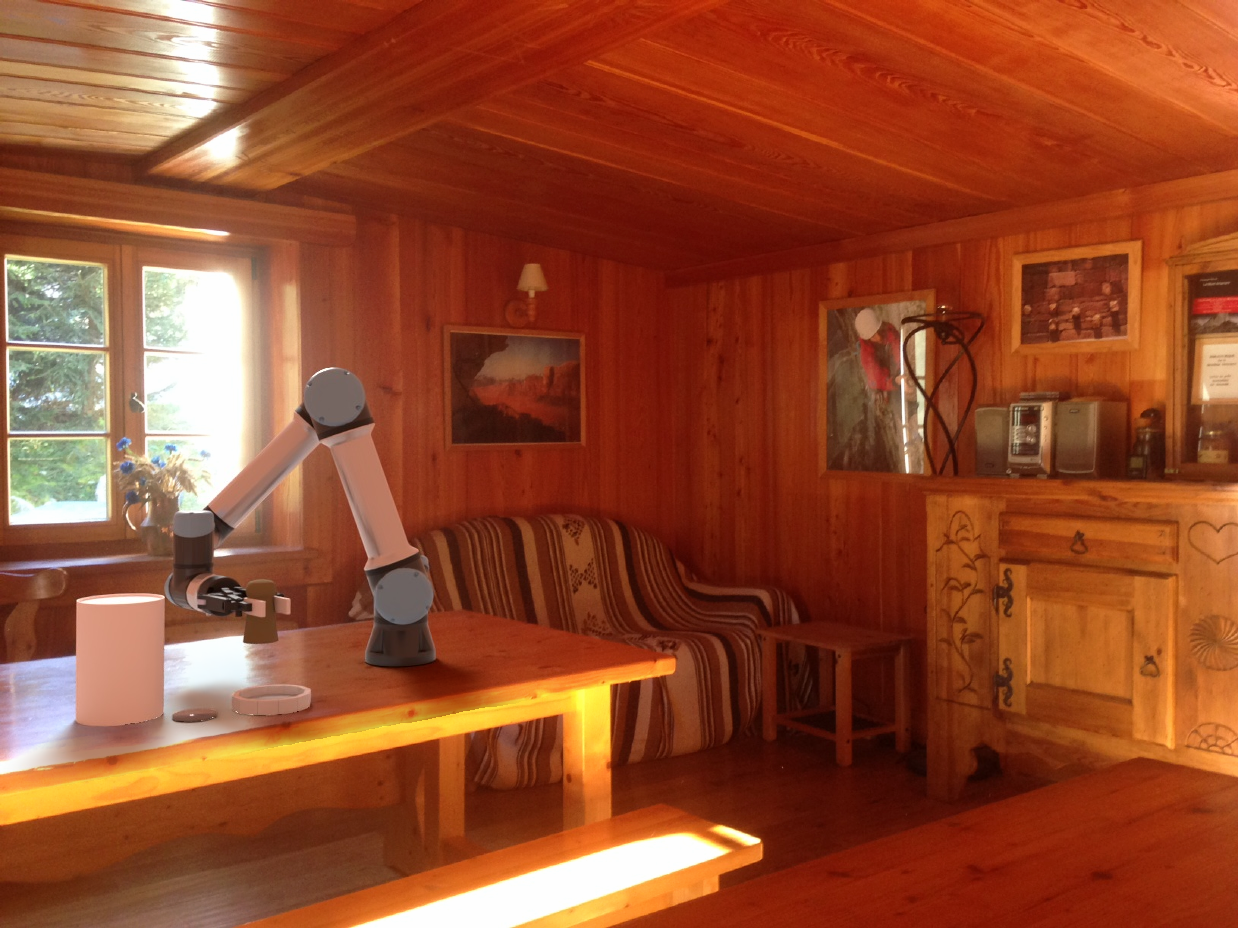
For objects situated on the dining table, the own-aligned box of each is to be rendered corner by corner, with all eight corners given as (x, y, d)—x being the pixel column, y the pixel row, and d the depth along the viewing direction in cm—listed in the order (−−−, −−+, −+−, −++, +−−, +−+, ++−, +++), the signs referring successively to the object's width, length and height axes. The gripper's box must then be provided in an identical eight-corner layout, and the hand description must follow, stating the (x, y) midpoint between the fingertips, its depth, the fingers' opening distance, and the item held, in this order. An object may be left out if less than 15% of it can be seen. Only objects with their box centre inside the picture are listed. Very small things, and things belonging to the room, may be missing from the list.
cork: (266, 644, 183) (267, 582, 183) (235, 643, 184) (236, 581, 184) (285, 639, 189) (285, 578, 189) (255, 637, 190) (255, 577, 190)
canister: (72, 729, 168) (73, 605, 168) (78, 710, 181) (79, 595, 181) (163, 721, 174) (164, 602, 174) (163, 703, 186) (164, 592, 186)
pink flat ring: (312, 696, 193) (312, 683, 193) (307, 713, 180) (307, 699, 180) (238, 699, 190) (238, 685, 190) (227, 716, 177) (228, 702, 177)
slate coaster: (219, 711, 181) (219, 707, 181) (213, 721, 175) (213, 717, 175) (176, 712, 180) (176, 709, 180) (168, 722, 173) (168, 719, 173)
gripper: (257, 609, 205) (319, 623, 189) (170, 619, 193) (229, 634, 177) (257, 571, 205) (320, 582, 189) (170, 578, 193) (229, 590, 177)
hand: (276, 607), depth 183 cm, fingers closed on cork, 4 cm apart
